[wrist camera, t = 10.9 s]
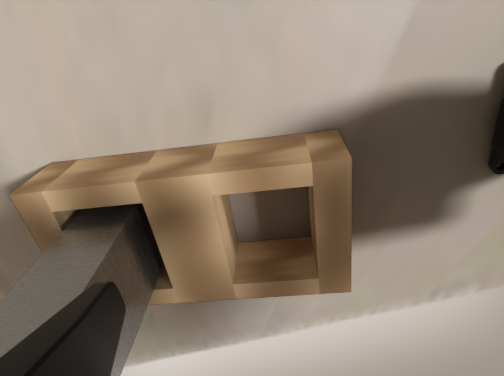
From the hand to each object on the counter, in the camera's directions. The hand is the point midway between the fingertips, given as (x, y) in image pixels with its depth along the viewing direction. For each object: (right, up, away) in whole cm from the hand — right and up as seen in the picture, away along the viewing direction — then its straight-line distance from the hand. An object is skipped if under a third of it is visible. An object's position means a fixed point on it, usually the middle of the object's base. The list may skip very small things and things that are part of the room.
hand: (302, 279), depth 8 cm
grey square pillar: (-9, 0, +15) cm, 18 cm away
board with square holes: (-4, +1, +15) cm, 16 cm away
